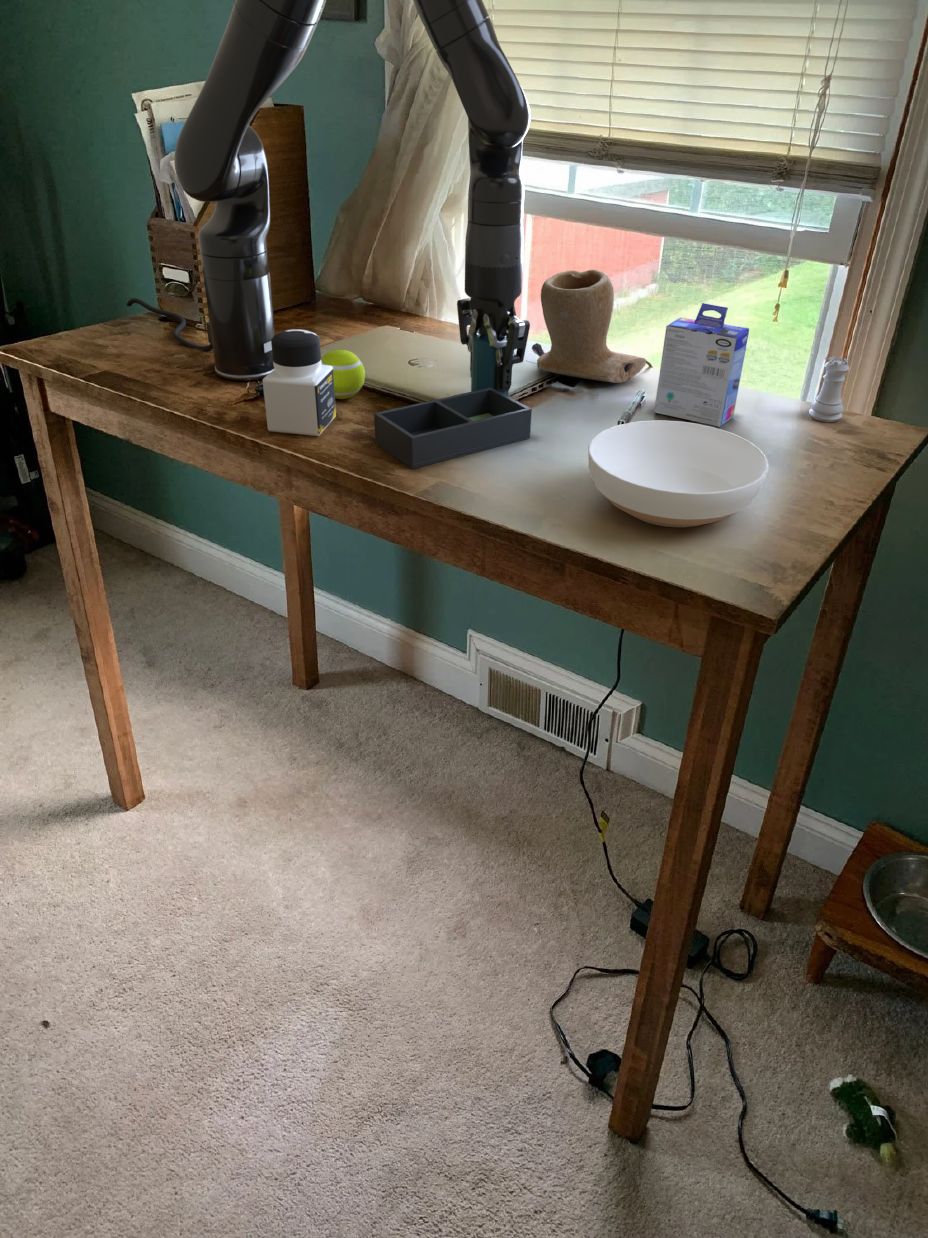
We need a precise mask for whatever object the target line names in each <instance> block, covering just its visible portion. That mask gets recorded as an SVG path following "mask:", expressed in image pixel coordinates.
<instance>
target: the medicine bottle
mask: <svg viewBox="0 0 928 1238" xmlns="http://www.w3.org/2000/svg"><path fill="white" fill-rule="evenodd" d="M275 334H276V335H274V336H273V338H272V339H271V344H272V354H273V364H274V368H275V369H274V370H273V371H271V372H270V373H269V374H268V375H267V376H266V377H265V378H263V379H262V388H263V399H264V408H265V416H266V425H267V427H266V428H267V430H268V432H272V433H281V434H291V435H292V434H293V435H302V436H311V437H312V436H313V437H319V436H320V435H321V434H322V433H323V432H324V431H325V430H326V429H327V427H328V426H329V425H330V424H331V423H332V421H334V419H335V418H336V417H337V410H336V409H337V408H336V398H335V392H334V376H333V367H332V366H330V365H321V359H322V352H321V351H322V350H321V339H320V336H318V335H317V333H315V332H313V331H310V330H306V329H300V328H299V329H286V330H283V331H280V332H278V333H275Z"/></svg>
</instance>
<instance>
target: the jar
mask: <svg viewBox="0 0 928 1238" xmlns="http://www.w3.org/2000/svg"><path fill="white" fill-rule="evenodd" d="M497 340H498V341H499V342H501V341H505V340H506V336H505V337H504V338H499V339H497ZM505 349H506V346H504V347H502V348H501V350H502V355H503V356H504V354H505ZM495 365H496V361H495V355H494V350H493V349H491V348H490V343H489V340H488V337H487V336H486V335H481V334H478V335H474V336H473V337H472V371H470V384H471V385H470V392H472V391H476V390H481V389H485V388H490V387H491V388H493V389H494V388H495ZM501 393H502V394H504V395H506V396H508V397H510V396H509V395H510V389H509V390H508V391H505V392H501Z"/></svg>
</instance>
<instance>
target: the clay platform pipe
mask: <svg viewBox="0 0 928 1238" xmlns="http://www.w3.org/2000/svg"><path fill="white" fill-rule="evenodd" d="M614 302H615V288H614V285H613V283H612V280H611V278H610V276H609V275H608V274H607V273H606V272H603V271H601V270H598V269H588V270H585V271H579V270H565V271H561V272H558V273H556V274H553V275H552V276H550V277H548V278H546V279H545V281H544V282H543V284H542V286H541V289H540V303H541V310H542V316H543V320H544V324H545V326H546V329H547V333H548V335H549V338H550V344H551V345H550V350H549V351H547V352H544V353H542V354H541V355H540V356H539V357H537V361H536V366H537V367H538V368H539V369H540V370H542V371H544V372H548V373H552V374H557V375H560V376H561V375H562V376H567V377H573V378H579V379H586V380H591V381H592V380H593V381H600V382H606V383H615V384H622V383H625V382H628V381H629V380H631V379H632V378H634V377H635V376H637V374H639V373H640V372H641V371H642V370H643V369H644V368H645V366H646V365H647V360H646V358H645V357H641V356H636V355H630V354H626V353H621V352H616V351H612V350H610V349H609V347H608V345H607V339H608V333H609V330H610V324H611V322H612V317H613V312H614V305H615V304H614Z"/></svg>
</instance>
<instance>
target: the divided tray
mask: <svg viewBox="0 0 928 1238" xmlns="http://www.w3.org/2000/svg"><path fill="white" fill-rule="evenodd" d="M532 412H533V410H532V408H531V407H529V406H527V405H525V404H523V403H521V402H520V401H518V400H515V399H514V398H511V397H510V396H509V397H508V396H506V395H504V394H502V393H500V392H498V391H497V390H495V389H493V388H491V387H490V388H485V389H481V390H476V391H472V392H471V391H468V392H464V393H460V394H453V395H450V396H446V397H442V398H436V399H432V400H428V401H423V402H419V403H415V404H411V405H410V404H409V405H405V406H400V407H397V408H392V409H388V410H383V411H378V412H374V413H373V421H374V422H373V425H374V444H376V445H377V446H379V447H380V448H382V449H383V450H384V451H386V452H387V453H389V454H390V455H391V456H393V457H394V458H396V459H397V460H399V461H400V462H401V463H403V464H405V465H406V466H407V467H409V468H410V469H412V470H414V469H418V468H422V467H427V466H429V465H433V464H437V463H440V462H444V461H445V462H446V461H449V460H452V459H453V460H454V459H456V458H461V457H464V456H468V455H471V454H475V453H480V452H483V451H486V450H487V451H488V450H491V449H494V448H498V447H503V446H507V445H511V444H513V443H518V442H521V441H526V440H529V439H531V433H532V432H531V431H532V415H533V413H532Z"/></svg>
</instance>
